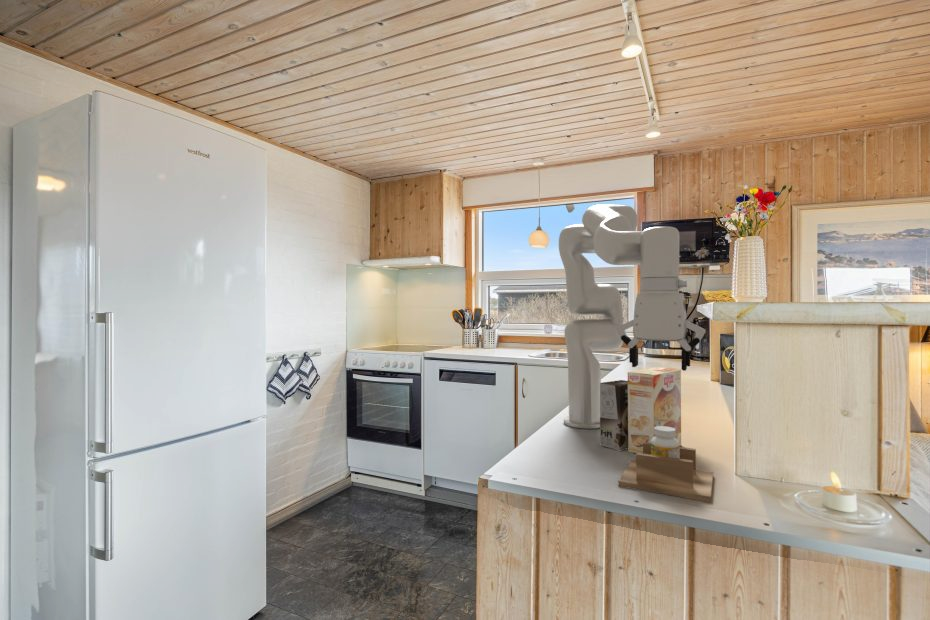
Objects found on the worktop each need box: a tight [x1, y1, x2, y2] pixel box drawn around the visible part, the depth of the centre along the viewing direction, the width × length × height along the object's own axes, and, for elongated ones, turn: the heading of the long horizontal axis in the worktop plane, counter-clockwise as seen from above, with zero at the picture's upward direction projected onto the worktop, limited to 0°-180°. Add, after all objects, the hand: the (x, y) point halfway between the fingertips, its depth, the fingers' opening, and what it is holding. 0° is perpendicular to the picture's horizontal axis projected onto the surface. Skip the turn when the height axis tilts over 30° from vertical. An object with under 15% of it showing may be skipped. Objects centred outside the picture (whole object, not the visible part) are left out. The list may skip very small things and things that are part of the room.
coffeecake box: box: [627, 366, 682, 455], centre depth 113 cm, size 15×7×20 cm, turn 132°
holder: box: [617, 442, 714, 503], centre depth 92 cm, size 14×16×6 cm
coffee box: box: [599, 379, 628, 452], centre depth 117 cm, size 9×6×16 cm
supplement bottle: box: [651, 426, 681, 459], centre depth 92 cm, size 5×5×10 cm
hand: (659, 367), depth 96 cm, fingers open, 9 cm apart
